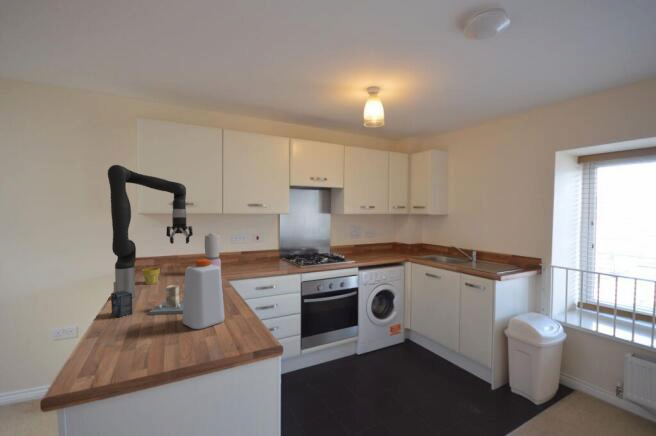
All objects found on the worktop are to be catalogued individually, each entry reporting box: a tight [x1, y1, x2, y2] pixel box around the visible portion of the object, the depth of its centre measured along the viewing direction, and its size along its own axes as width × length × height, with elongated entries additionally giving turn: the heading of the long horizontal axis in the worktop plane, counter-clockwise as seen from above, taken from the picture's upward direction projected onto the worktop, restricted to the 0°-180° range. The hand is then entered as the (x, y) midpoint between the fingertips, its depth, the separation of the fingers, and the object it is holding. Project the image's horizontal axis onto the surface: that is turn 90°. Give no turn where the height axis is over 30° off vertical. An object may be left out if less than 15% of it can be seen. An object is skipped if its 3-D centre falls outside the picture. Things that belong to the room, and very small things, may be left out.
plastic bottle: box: [181, 258, 225, 330], centre depth 134 cm, size 15×15×28 cm
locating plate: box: [148, 300, 184, 316], centre depth 152 cm, size 16×16×4 cm
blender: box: [204, 232, 222, 270], centre depth 234 cm, size 16×12×32 cm
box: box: [110, 291, 133, 318], centre depth 144 cm, size 8×6×11 cm
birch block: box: [165, 284, 180, 307], centre depth 152 cm, size 4×4×10 cm
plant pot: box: [141, 267, 161, 285], centre depth 206 cm, size 10×10×10 cm
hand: (179, 243), depth 181 cm, fingers open, 8 cm apart
